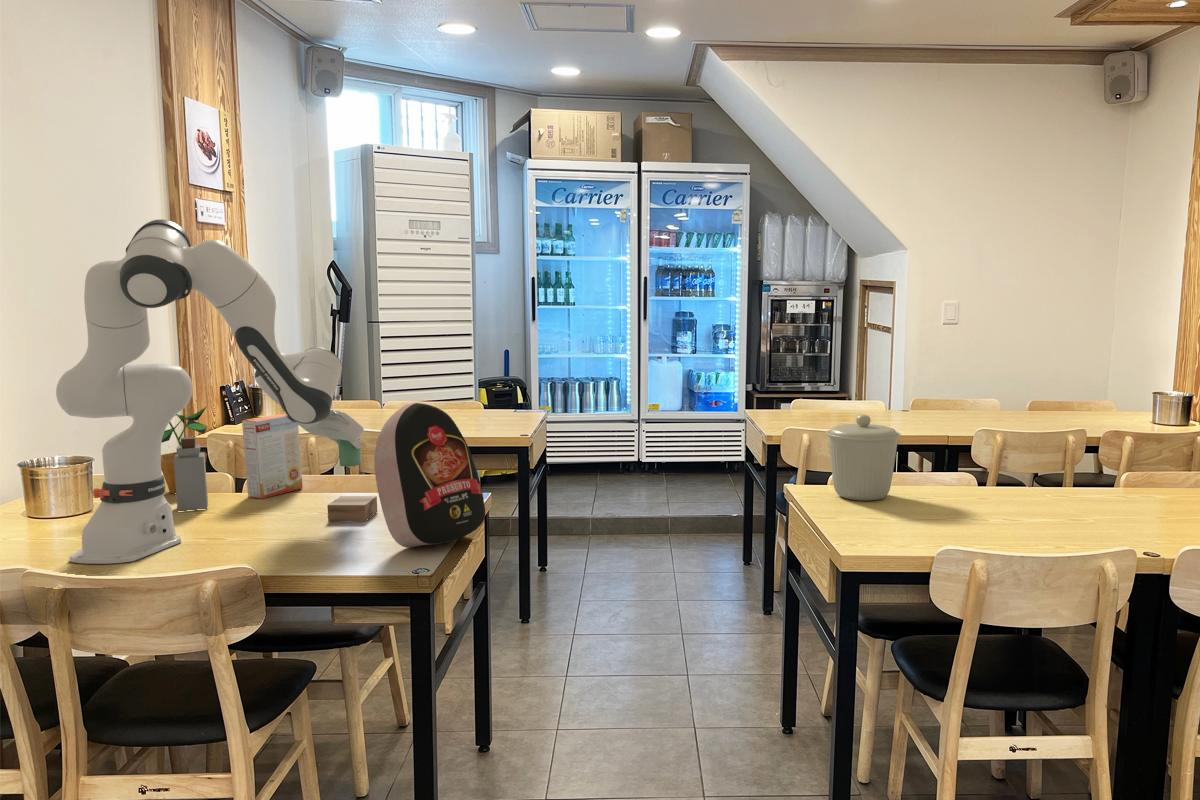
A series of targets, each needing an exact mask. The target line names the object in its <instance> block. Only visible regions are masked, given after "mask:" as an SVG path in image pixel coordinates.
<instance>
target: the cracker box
mask: <svg viewBox="0 0 1200 800" xmlns="http://www.w3.org/2000/svg"><path fill="white" fill-rule="evenodd" d="M285 415H286V413H285V412H283V413H277V414H273V415H266V416H260V417H253V418H247V419H243V420H241V423H242V424H241V425H242V426H241V427H242V437H243V451H244V452H243V453H244V460H245V462H244V463H245V473H246V485H247V487H246V488H247V497H248V498H254V499H261V500H263V499H267V498H271V497H275V496H278V495H282V494H285V493H289V492H293V491H297V490H302V489H303V488H304V487H303V473H302V461H301V460H302V459H301V456H302V455H301V446H300V444H301V443H300V430H299V425H298V424H297V423H295V422H293V421H290V420H289V419H288V418H287V417H286V416H285Z"/></svg>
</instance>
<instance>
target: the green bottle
mask: <svg viewBox="0 0 1200 800" xmlns="http://www.w3.org/2000/svg"><path fill="white" fill-rule="evenodd" d="M359 440H360V441H361V437H360V438H359ZM338 443H339V445H338V458H339V459H338V460H339V466H340V467H355V466H361V465H362V452H361V451H362V450H361V449H362V448H361V447H360V448H359V449H357V448H354V447H353V446H352V445H350V444H351V443H350V441H347V440H342V439H338Z"/></svg>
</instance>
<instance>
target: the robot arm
mask: <svg viewBox="0 0 1200 800" xmlns="http://www.w3.org/2000/svg"><path fill="white" fill-rule="evenodd" d="M190 240H191V239H190V237H189V235H188V233H187V232H186V230H185V229H184V228H183V227H182V226H180V225H179V224H177V223H176V222H174V221H170V220H167V219H154V220H151V221H148V222H146V223H145V224H143V225H142V226H141V227H139V228H138V230H137V231H136V232H135V234H134V235H133V237H132V239H130V241H129V243H128V245H127V246H126V248H125V256H124V257H123V258H122V259H119V260H105V261H101V262H98V263H96V264H94V265H93V266H92V267H90V268H89V269H88V271H87V273H86V275H85V281H84V294H83V298H84V311H85V312H84V313H85V319H86V328H87V329H86V330H87V348H86V351H85V353H84V355H83V357H82V358H81V359H80V360H79V362H78V363H77V364H75V366H73V367H71V368H70V369H69V370H66V371H65V372H64V373H63V374H62V375H61V377H59V380H58V382H57V384H56V388H55V393H56V395H55V397H56V400H57V403H58V405H59V406H60V408H61V409H62V410H63V411H64V412H65V413H66V415H68V416H71V417H79V418H88V419H102V418H116V417H117V418H118V417H131V418H132V419H133V421H132V424H131V425H130V426H129V427H128V428H126V429H125V430H122V431H120V432H119V433H117V434H115V435H113V436H112V437H110V438H109V439H107V441H106V442H105V443H104V445H103V447H102V450H101V454H102V465H103V467H102V468H103V477H104V481H103V482H102V485H101V488H94V489H93V490H92V492H91V493H92V494H91V495H92V497H93V499H99V500H100V503H99V505H98V507H97V508H96V510H95V511H94V512H93V514H92V516H91V517H90V518H89V520H88V522H87V523H86V525H85V526H84V527H83V529H82V533H81V548H80V549H78V550H77V551H76V552H74V553H73V554H71V555H70V556H69V562H71V563H76V564H86V565H87V564H91V565H95V564H97V565H99V564H100V565H102V564H103V565H106V564H122V563H129V562H134V561H137V560H140V559H142V558H145V557H147V556H150V555H153V554H155V553H157V552H160V551H163V550H165V549H168V548H170V547H172V546H175V545H178V544H180V543H181V542H182V538H181V537H180V536H179V535H177V533H176V527H175V521H174V514H173V510H172V506H171V504H170V503H169V502H168V501H167V499H166V497H165V495H164V494H165V492H166V481H165V478H164V475H163V473H162V470H161V455H162V443H163V442H162V437H163V434H164V431H166V429H167V427H168V425H170V424H169V422H171V421H172V420H173V418H175V417H176V416H175V415H176V414H179V413H180V412H181V411H183V409H185V408H186V407H187V405H189V403H190V401H191V398H192V395H193V390H194V389H193V382H192V379H191V377H190V375H189V374H188V373H187V371H186V370H185V369H184V368H183V367H181V366H180V365H173V364H165V363H143V364H142V363H141V364H140V363H139V364H129V363H132V362H134V361H135V360H137V359H138V358H140V357H141V356H142V355H143V354H144V353H145V352H146V351H147V349H148V348H149V346H150V342H151V337H150V328H149V316H148V309H156V308H161V307H164V306H167V305H168V304H171V303H173V302H175V301H177V300H183V299H184V298H187V297H189V295H190V294H191V291H192V290H194V291H196V292H199V294H201V295H202V296H203V297H204V298H205V299H206V300H207V301H208V302H209V303H210V304H211V305H212V306H213V307H214V308H215V309H216V310H217V311H218V313H219V314H220V316H222V317H223V320H225V322H226V323H227V325H228V326H229V328H230V330H231V332H232V335H233V336H234V339H235V342H236V344H237V346H238V348H239V350H240V352H241V353H242V354H243V355H244V357H245V358H246V359H247V360H248V363H250V365H251V366H252V367H253V369H255V372H254V379H255V382H256V383H257V385H258V387H259V388H260V389H261V390H262V391H263V393H265V394H266V395H267V396H268V397H269V398H270V399H271V400H273V401H274V402H275V403H276V404H278V405H280V406H281V409H282V411H284V412H283V413H286V415H285V416H286V417H287V418H288V419H289V420H290V421H293V422H295V423H297V424H298V427H299V426H300V427H301V429H303V430H305V431H306V432H307V433H309V434H311V435H313V436H319V437H325V438H328V439H330V440H331V441H333V442H335V443H336V444H337V445H338V446H339V443H338V439H342V440H347V441H350V443H351V444H350V445H352V446H353V447H354V448H357V449H359V448H361V447H362V445H363V442H362V441H361V437H362V435H363V434H364V433H365V430H364V427H363V426H362V425H361V424H360V423H359V422H357V421H356V420H355V419H354V418H353V417H351V416H350V415H349V414H348V413H346V412H345V411H342V410H339V409H338V410H337V409H333V407H332V405H333V398H334V395H335V392H336V389H337V387H338V384H339V383H338V382H339V379H340V377H341V375H342V370H343V364H342V362H341V359H340V358H339V357H338V355H336V354H335V353H334V352H333V351H331V350H329V349H326V348H325V347H310V348H308V349H306V350H304V351H300V352H299V351H298V352H293V353H284V352H281V351H280V350H279V347H278V345H277V342H276V336H275V335H276V334H275V323H276V322H275V321H276V308H277V304H276V303H277V302H276V295H275V293H274V291H273V290H272V288H271V286H270V285H269V284H268V282H267V281H266V280H265V279H264V277H263V276H262V275H261V274H260V273H259V272H258V271H257V270H256V269H255V268H254V266H252V265H251V264H250V263H249V262H248V261H247V260H246V259H245V258H244V257H243V256H241V254H239V253H238V252H237V251H235V250H234V249H233V248H232V247H230V246H229V245H227V244H226V243H225V242H223V241H221V240H220V239H219V240H218V239H207V240H203V241H201V242H199V243H197V244H195V245H193V246H192V245H191V241H190ZM359 438H360V440H359ZM161 442H162V443H161Z"/></svg>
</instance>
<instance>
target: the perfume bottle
mask: <svg viewBox="0 0 1200 800" xmlns="http://www.w3.org/2000/svg"><path fill="white" fill-rule="evenodd" d="M180 442H181V445H182V446H179V445H177V447H176V451H175V452H177V455H175V457H174V470H175V484H176V494H175V495H176V507H177V512H178V511H187V510H197V509H207V510H208V508H207V507H209V498H208V485H207V471H206V469H207V468H206V462H205V453H206V452H205V451H202V452H203V453H200V451H201V446H202V444H196V436H185V437H182V436H181V438H180ZM204 452H205V453H204Z"/></svg>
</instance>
